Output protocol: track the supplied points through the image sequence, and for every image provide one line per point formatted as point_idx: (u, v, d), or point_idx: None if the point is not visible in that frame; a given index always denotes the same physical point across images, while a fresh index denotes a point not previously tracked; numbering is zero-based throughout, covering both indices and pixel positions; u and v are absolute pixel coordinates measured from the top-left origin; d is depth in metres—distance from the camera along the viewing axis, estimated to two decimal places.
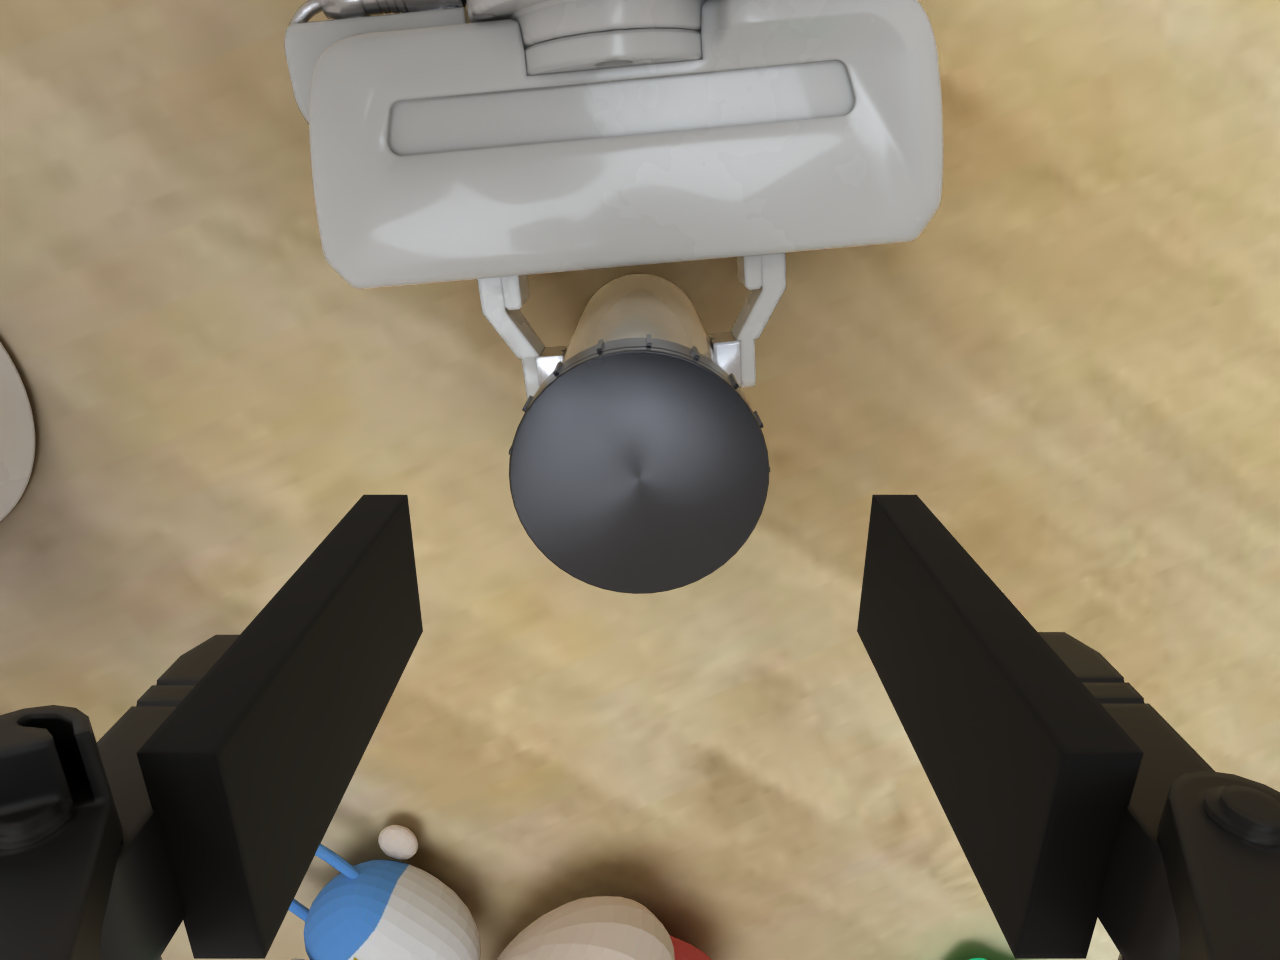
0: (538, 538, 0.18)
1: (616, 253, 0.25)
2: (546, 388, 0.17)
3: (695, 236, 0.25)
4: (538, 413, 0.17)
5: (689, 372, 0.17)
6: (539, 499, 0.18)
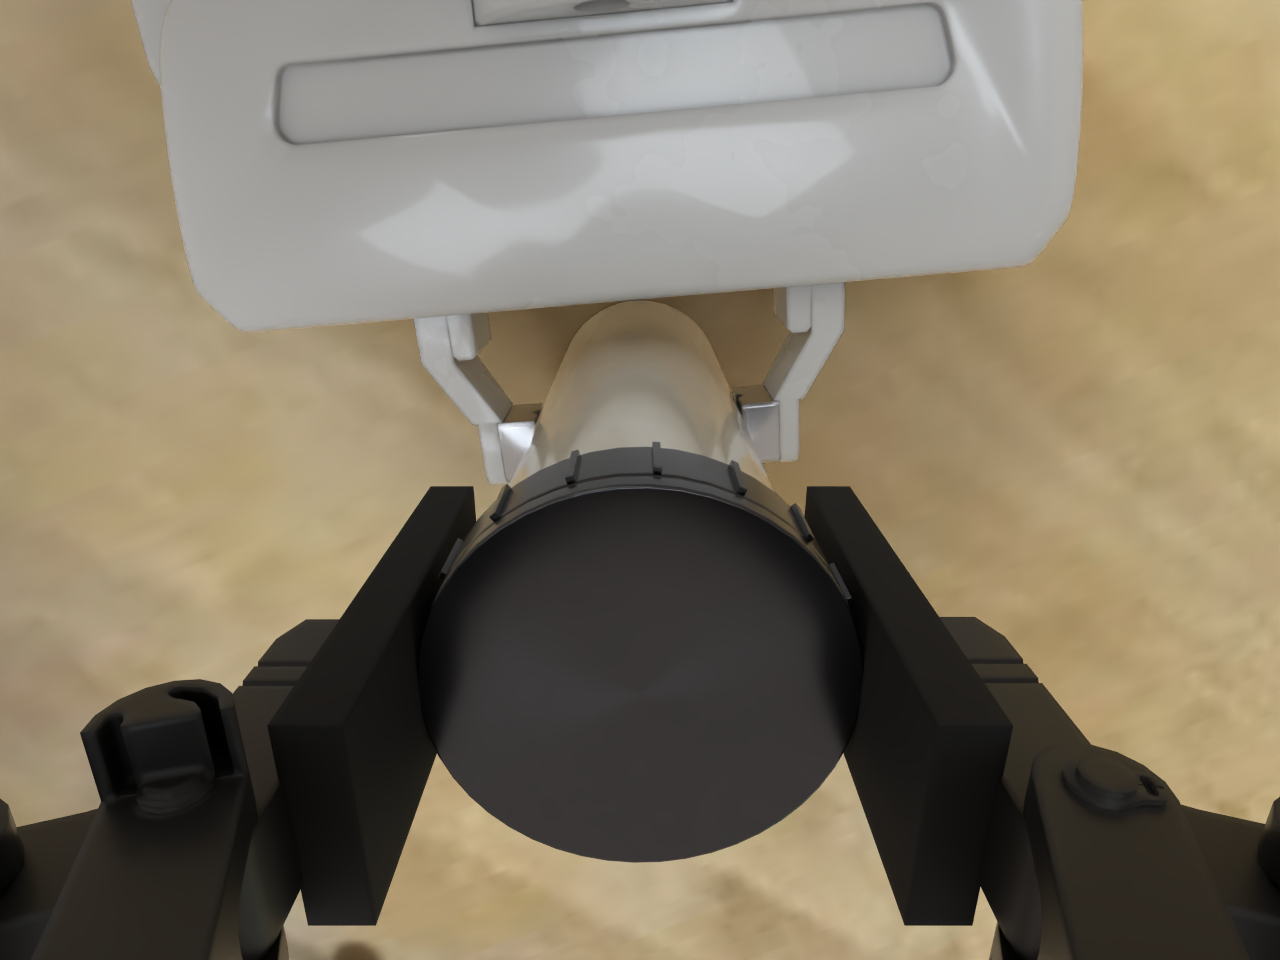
0: (471, 782, 0.11)
1: (607, 283, 0.18)
2: (475, 549, 0.10)
3: (719, 260, 0.18)
4: (463, 590, 0.10)
5: (730, 522, 0.10)
6: (470, 724, 0.11)
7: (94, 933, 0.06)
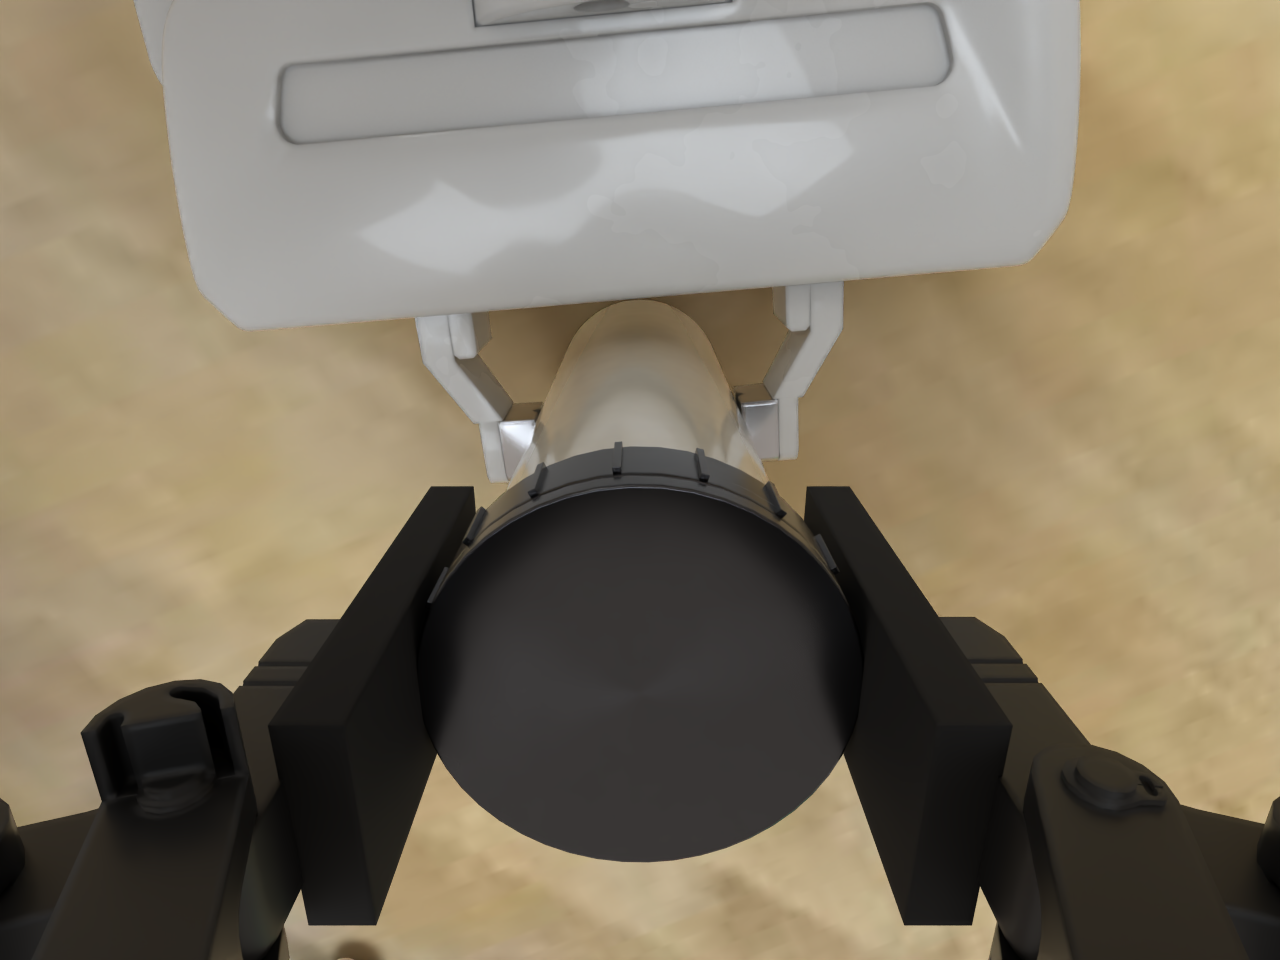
0: (756, 824, 0.11)
1: (607, 282, 0.18)
2: (502, 820, 0.11)
3: (719, 259, 0.18)
4: (542, 830, 0.11)
5: (441, 634, 0.10)
6: (686, 825, 0.11)
7: (95, 933, 0.06)
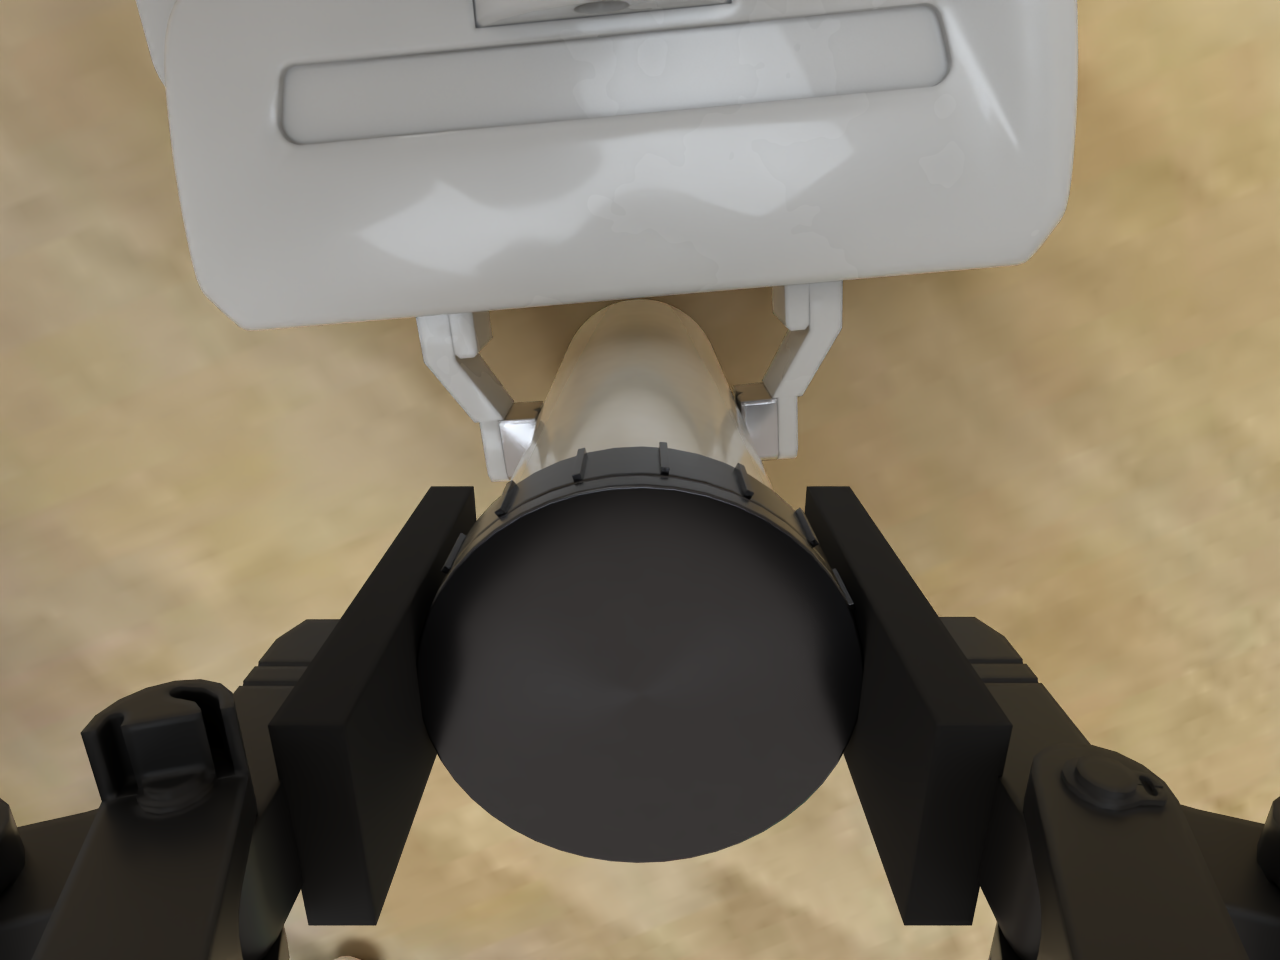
0: (809, 569, 0.10)
1: (607, 282, 0.18)
2: (805, 799, 0.11)
3: (718, 258, 0.18)
4: (816, 768, 0.11)
5: (591, 844, 0.11)
6: (810, 639, 0.10)
7: (94, 933, 0.06)
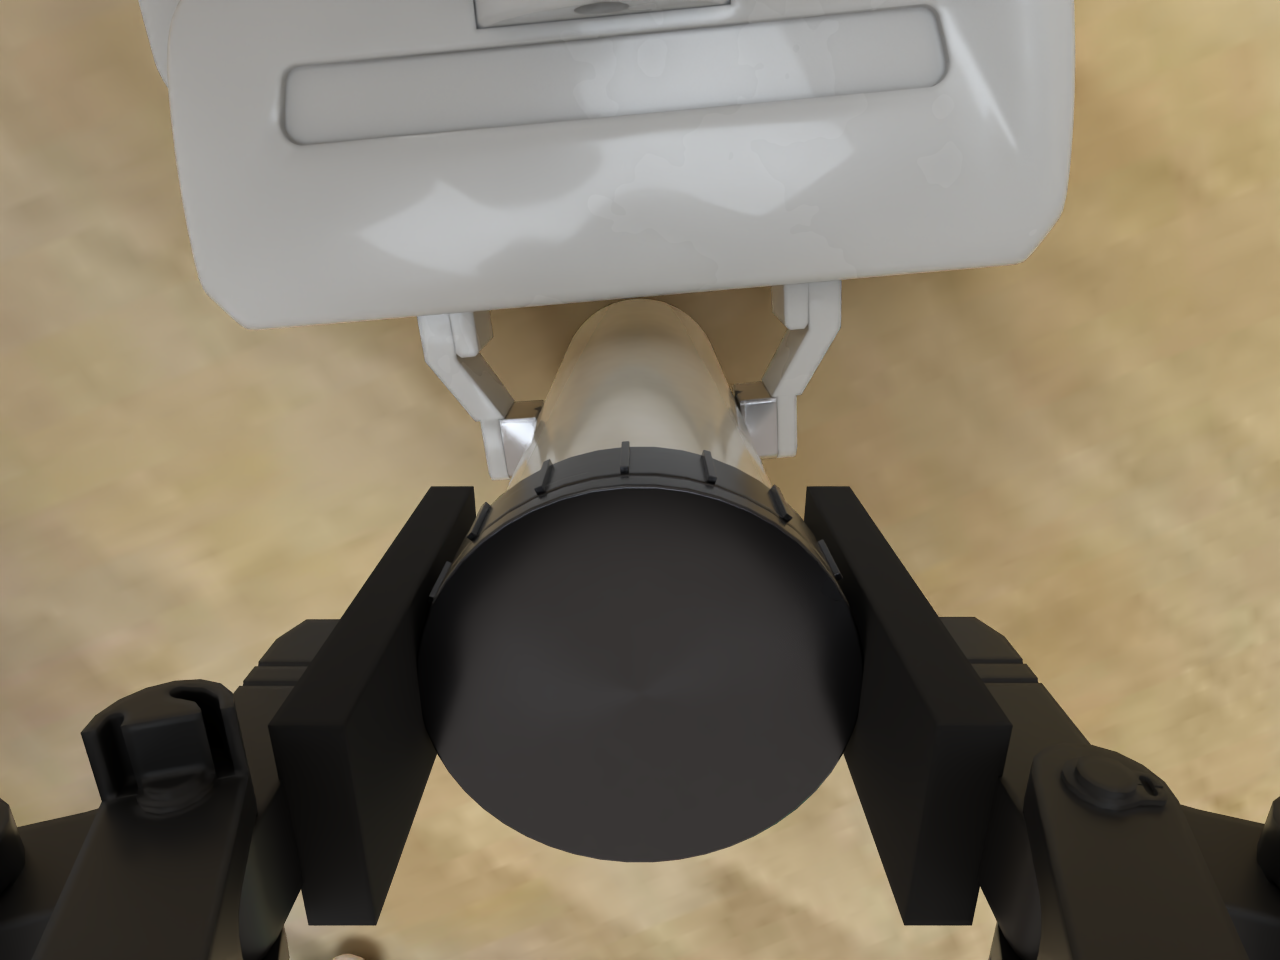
0: (479, 560, 0.10)
1: (607, 281, 0.18)
2: (772, 524, 0.10)
3: (718, 258, 0.18)
4: (724, 520, 0.10)
5: (837, 724, 0.11)
6: (558, 549, 0.10)
7: (94, 934, 0.06)
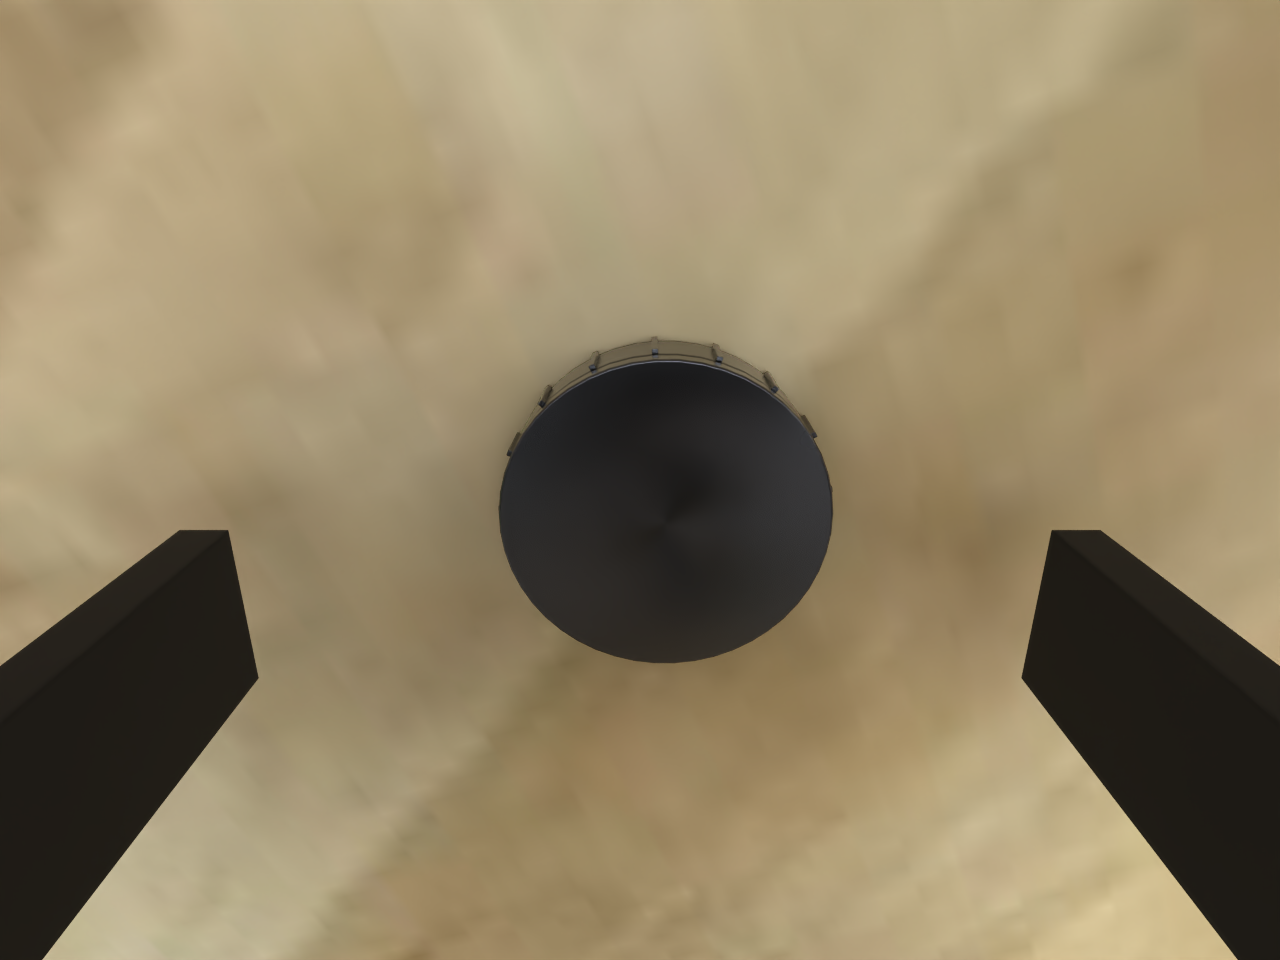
0: (548, 417, 0.13)
1: None
2: (763, 389, 0.13)
3: None
4: (728, 386, 0.13)
5: (813, 549, 0.14)
6: (606, 409, 0.13)
7: None
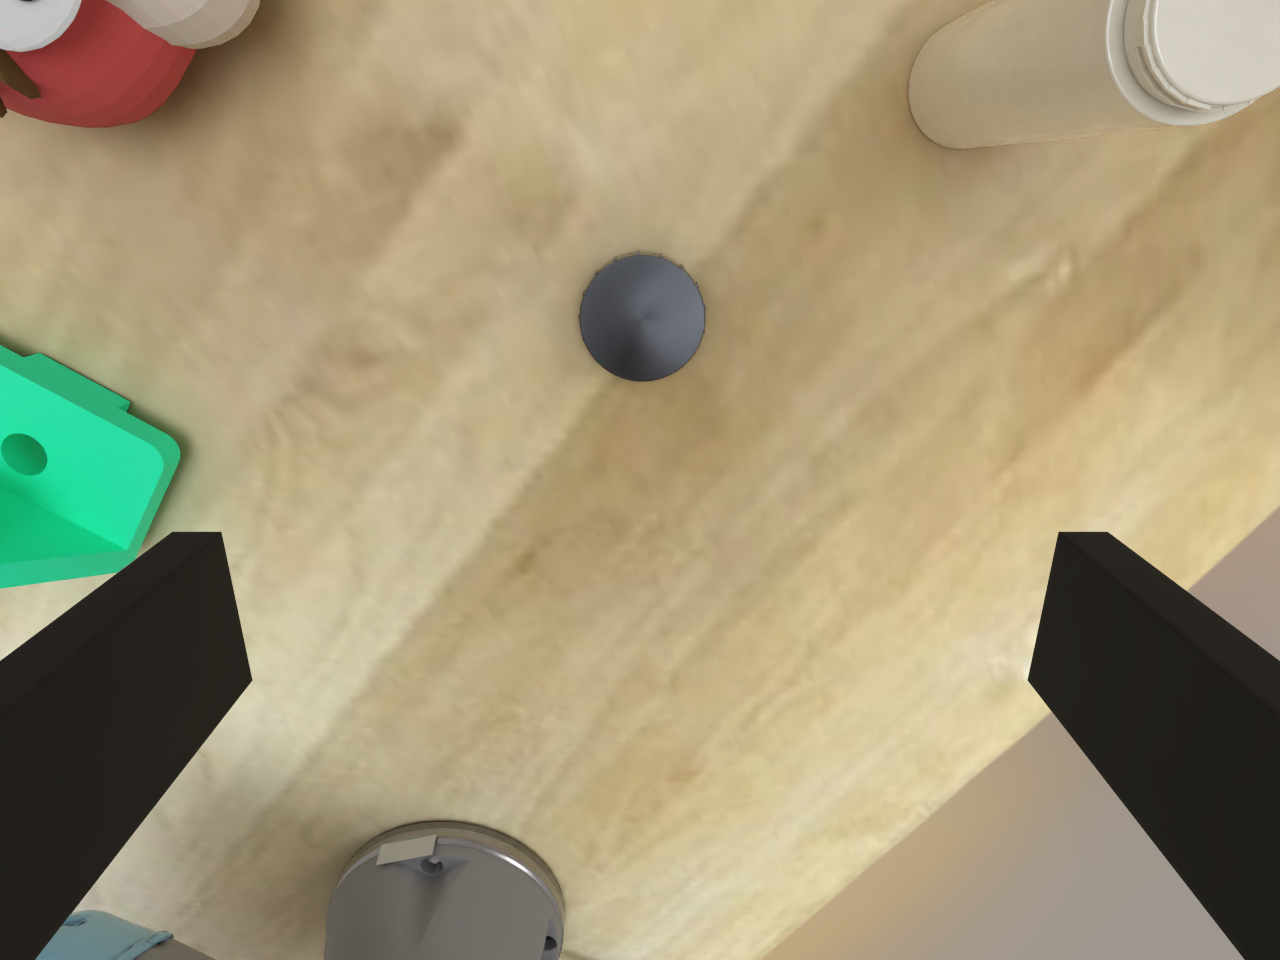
0: (599, 277, 0.37)
1: None
2: (677, 266, 0.36)
3: None
4: (664, 265, 0.36)
5: (698, 330, 0.37)
6: (620, 274, 0.36)
7: None
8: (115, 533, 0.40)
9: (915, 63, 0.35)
